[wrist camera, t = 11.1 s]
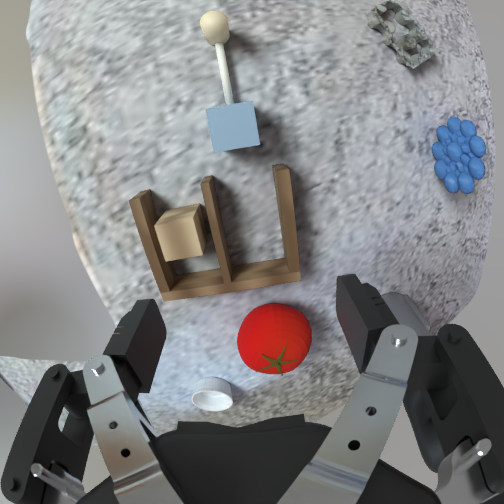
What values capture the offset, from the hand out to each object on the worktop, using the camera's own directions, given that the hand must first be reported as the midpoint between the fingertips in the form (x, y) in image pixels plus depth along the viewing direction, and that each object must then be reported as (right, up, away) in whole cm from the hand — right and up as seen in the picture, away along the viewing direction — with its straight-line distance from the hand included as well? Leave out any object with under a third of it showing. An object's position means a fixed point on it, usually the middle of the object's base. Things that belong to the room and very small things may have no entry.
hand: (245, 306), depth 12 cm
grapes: (+30, +19, +22) cm, 42 cm away
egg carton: (+21, +34, +14) cm, 43 cm away
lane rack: (-4, +6, +27) cm, 28 cm away
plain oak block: (-9, +6, +27) cm, 29 cm away
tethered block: (-3, +23, +18) cm, 30 cm away
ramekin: (-8, -27, +44) cm, 52 cm away
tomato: (+4, -9, +35) cm, 37 cm away
